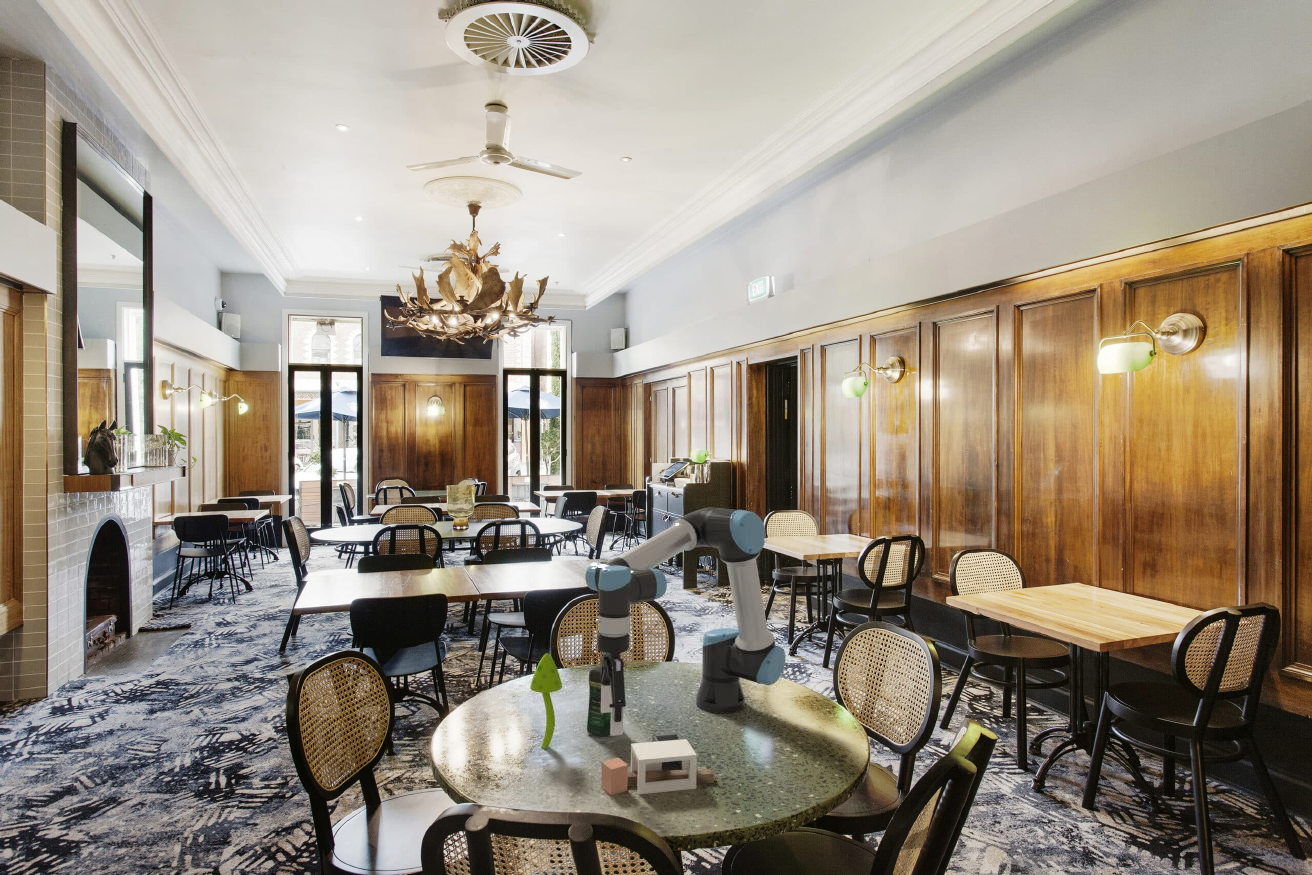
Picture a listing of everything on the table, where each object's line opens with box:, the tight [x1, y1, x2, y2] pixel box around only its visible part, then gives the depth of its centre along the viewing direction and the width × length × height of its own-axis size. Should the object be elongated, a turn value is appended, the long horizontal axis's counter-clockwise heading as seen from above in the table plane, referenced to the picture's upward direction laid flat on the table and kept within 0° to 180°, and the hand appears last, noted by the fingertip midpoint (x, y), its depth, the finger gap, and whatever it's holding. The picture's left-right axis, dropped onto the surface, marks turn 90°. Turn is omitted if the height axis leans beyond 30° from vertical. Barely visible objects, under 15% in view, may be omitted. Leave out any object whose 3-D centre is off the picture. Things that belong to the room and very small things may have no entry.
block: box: [600, 757, 629, 796], centre depth 167 cm, size 4×4×6 cm
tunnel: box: [630, 732, 698, 795], centre depth 173 cm, size 14×15×8 cm
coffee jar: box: [586, 663, 619, 738], centre depth 199 cm, size 10×8×19 cm
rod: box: [627, 768, 715, 787], centre depth 170 cm, size 22×2×2 cm, turn 97°
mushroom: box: [529, 652, 563, 750], centre depth 188 cm, size 8×8×25 cm
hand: (611, 722), depth 167 cm, fingers open, 13 cm apart
